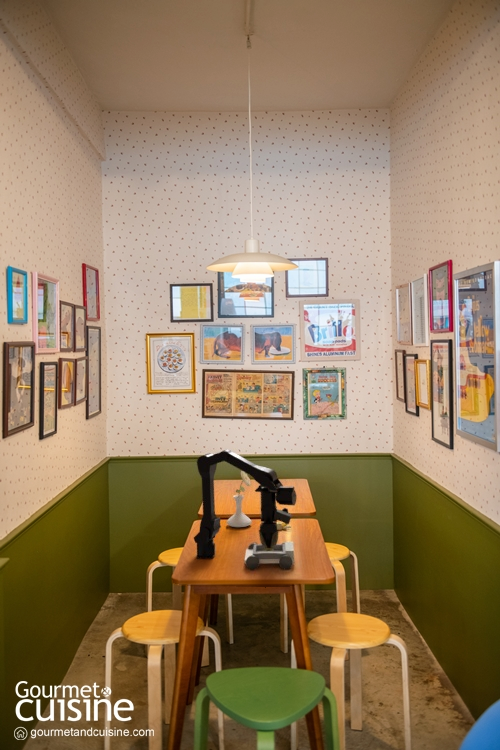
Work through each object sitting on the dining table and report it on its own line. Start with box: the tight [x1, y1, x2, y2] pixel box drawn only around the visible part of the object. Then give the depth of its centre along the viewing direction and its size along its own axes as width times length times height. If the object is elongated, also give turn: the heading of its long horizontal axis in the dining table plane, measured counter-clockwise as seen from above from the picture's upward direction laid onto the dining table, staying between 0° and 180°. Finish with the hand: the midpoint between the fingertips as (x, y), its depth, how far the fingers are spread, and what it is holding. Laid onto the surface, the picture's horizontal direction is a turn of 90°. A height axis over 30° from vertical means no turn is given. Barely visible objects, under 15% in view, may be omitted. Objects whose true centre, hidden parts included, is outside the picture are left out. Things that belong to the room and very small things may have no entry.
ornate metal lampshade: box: [258, 529, 280, 551], centre depth 248 cm, size 8×7×8 cm
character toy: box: [277, 521, 292, 531], centre depth 295 cm, size 8×3×8 cm
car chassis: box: [244, 541, 295, 571], centre depth 248 cm, size 18×18×6 cm
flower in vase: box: [226, 470, 252, 528], centre depth 302 cm, size 13×11×25 cm
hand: (269, 545), depth 248 cm, fingers closed on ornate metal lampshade, 6 cm apart
